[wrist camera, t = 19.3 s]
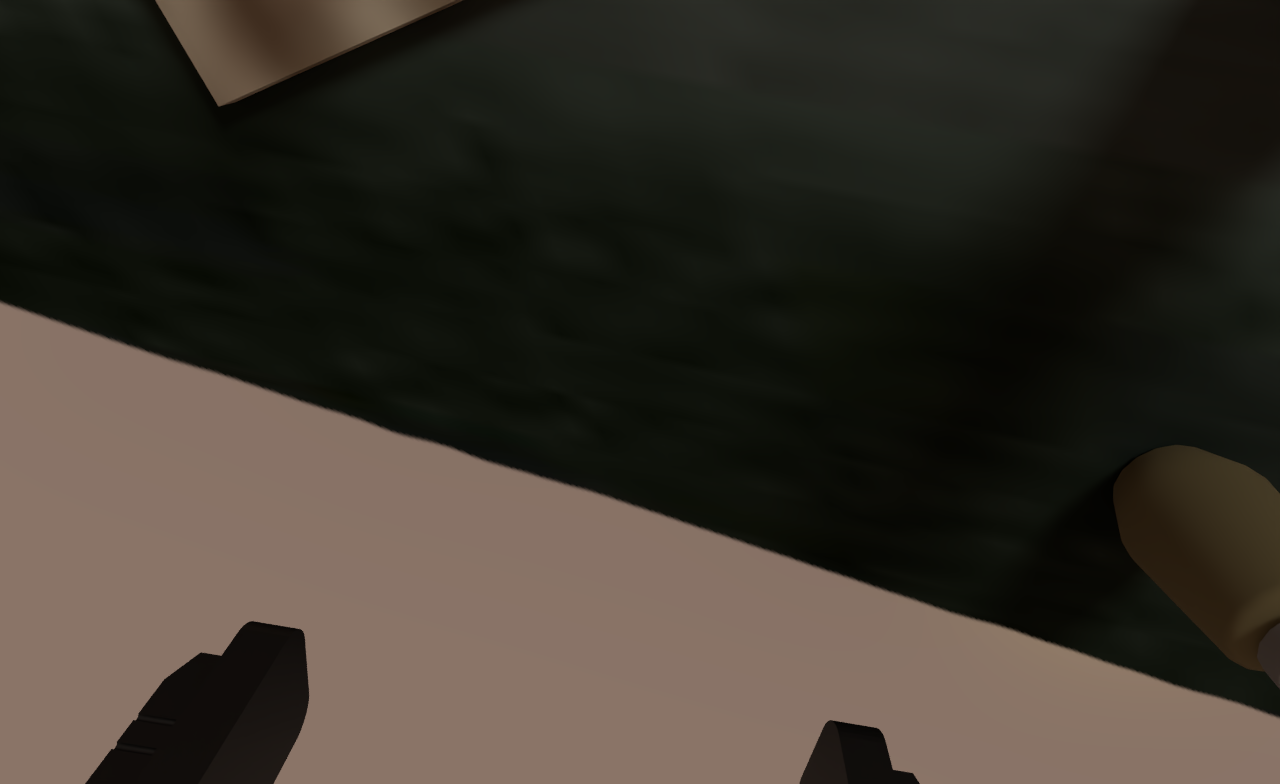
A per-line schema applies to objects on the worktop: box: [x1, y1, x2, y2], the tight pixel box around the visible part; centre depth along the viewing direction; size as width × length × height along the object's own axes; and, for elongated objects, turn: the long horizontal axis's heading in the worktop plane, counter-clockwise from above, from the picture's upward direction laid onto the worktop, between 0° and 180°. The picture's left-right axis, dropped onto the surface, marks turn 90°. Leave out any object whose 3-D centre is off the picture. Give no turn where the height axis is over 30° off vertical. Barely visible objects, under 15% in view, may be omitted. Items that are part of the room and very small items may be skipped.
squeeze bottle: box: [1113, 445, 1280, 688], centre depth 38 cm, size 8×8×18 cm
